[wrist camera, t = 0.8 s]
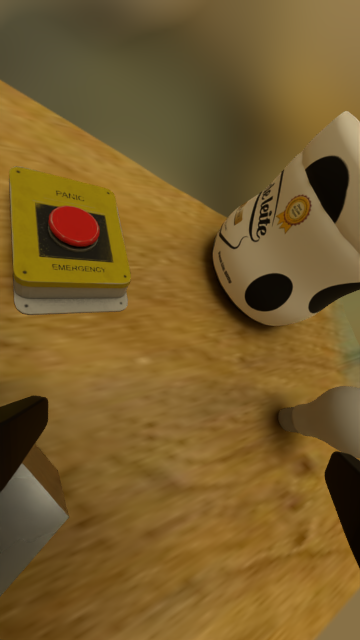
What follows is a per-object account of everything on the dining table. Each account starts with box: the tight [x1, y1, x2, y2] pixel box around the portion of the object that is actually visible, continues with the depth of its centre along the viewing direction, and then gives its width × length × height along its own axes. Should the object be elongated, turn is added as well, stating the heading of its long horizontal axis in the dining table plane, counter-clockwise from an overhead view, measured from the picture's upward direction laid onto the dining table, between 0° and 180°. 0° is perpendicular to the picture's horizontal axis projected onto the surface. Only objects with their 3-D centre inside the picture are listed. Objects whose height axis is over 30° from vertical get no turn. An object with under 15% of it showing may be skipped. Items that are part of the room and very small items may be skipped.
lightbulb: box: [278, 386, 360, 458], centre depth 23 cm, size 6×6×11 cm
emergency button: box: [9, 166, 131, 315], centre depth 21 cm, size 9×4×15 cm
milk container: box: [212, 111, 360, 326], centre depth 27 cm, size 17×17×18 cm
